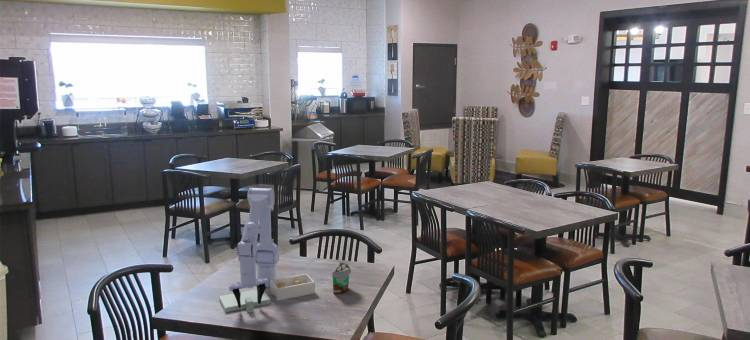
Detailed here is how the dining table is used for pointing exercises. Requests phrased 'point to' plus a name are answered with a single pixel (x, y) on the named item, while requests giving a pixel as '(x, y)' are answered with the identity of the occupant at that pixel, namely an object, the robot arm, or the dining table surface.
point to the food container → (341, 278)
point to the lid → (243, 301)
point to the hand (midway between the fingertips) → (249, 304)
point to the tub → (292, 286)
